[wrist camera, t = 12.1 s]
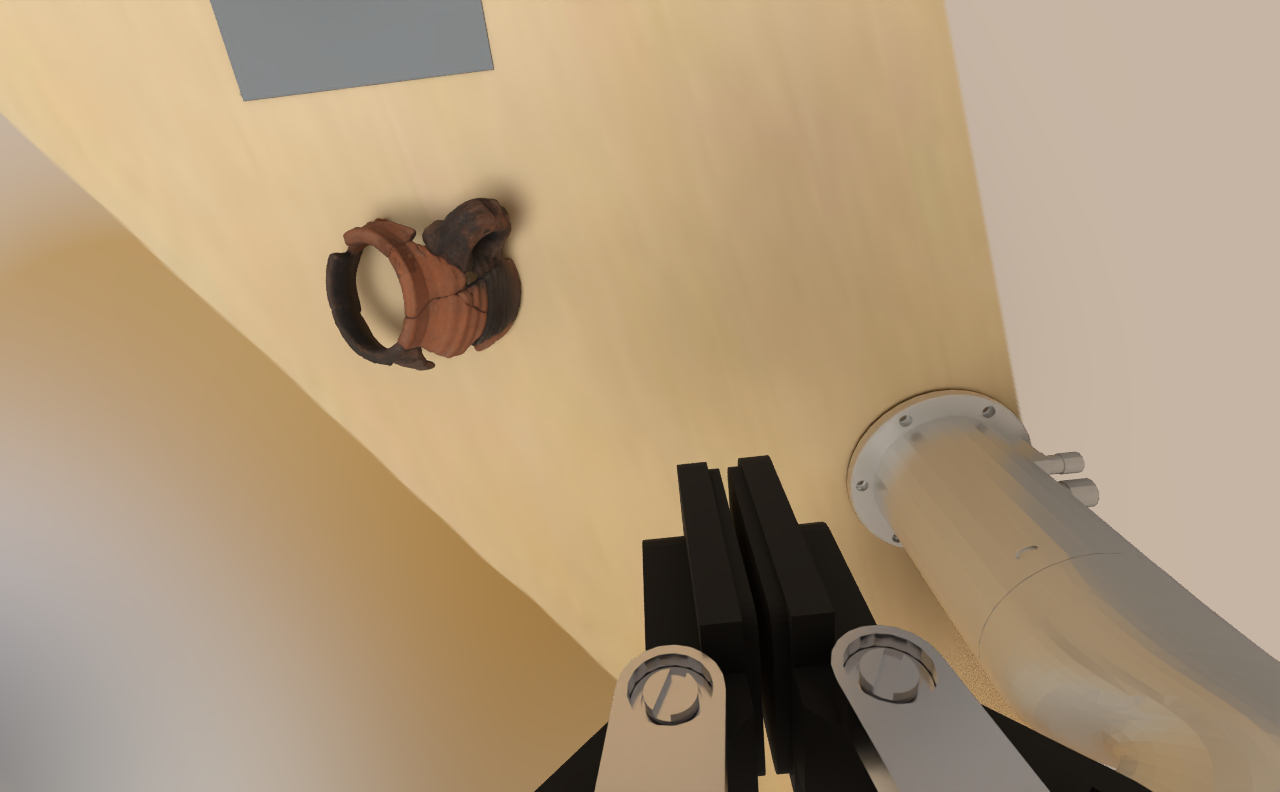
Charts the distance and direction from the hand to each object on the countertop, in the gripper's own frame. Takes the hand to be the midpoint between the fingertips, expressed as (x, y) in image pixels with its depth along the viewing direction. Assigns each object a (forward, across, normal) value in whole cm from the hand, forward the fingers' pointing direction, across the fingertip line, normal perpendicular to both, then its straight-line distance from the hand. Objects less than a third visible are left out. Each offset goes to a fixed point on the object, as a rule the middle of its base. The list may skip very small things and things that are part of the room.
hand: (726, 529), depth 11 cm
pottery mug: (+29, +13, 0) cm, 32 cm away
